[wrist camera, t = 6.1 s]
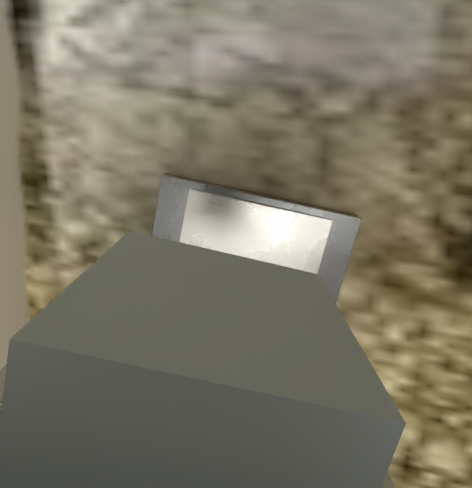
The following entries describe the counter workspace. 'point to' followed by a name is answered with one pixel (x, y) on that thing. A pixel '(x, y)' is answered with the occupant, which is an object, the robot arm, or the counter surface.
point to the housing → (192, 380)
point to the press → (257, 227)
